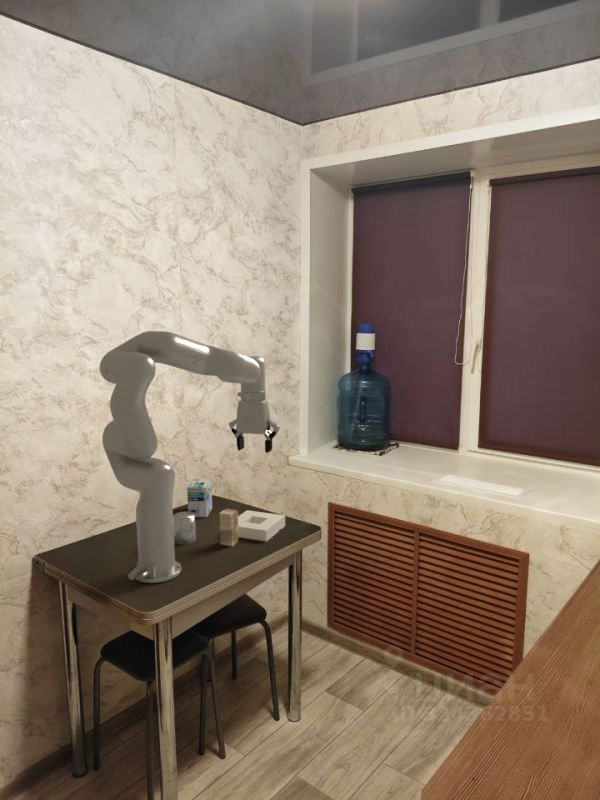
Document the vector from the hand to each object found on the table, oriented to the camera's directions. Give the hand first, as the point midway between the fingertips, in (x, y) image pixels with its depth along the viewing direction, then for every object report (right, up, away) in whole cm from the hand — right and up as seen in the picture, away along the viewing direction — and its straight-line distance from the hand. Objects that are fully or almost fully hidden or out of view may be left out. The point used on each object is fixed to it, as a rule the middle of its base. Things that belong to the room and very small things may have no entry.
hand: (254, 450), depth 182 cm
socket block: (0, -26, +4) cm, 26 cm away
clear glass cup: (-21, -27, -3) cm, 35 cm away
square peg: (-7, -28, -6) cm, 29 cm away
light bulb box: (-21, -24, +21) cm, 38 cm away
